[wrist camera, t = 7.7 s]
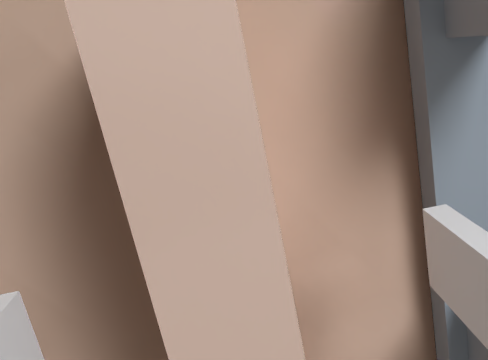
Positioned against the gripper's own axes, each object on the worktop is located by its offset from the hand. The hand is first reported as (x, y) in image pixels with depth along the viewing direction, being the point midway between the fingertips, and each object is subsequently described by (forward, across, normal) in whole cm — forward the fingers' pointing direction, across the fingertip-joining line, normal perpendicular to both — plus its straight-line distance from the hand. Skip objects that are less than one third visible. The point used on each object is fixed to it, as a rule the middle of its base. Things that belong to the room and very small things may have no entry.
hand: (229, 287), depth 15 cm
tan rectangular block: (+8, 0, 0) cm, 8 cm away
